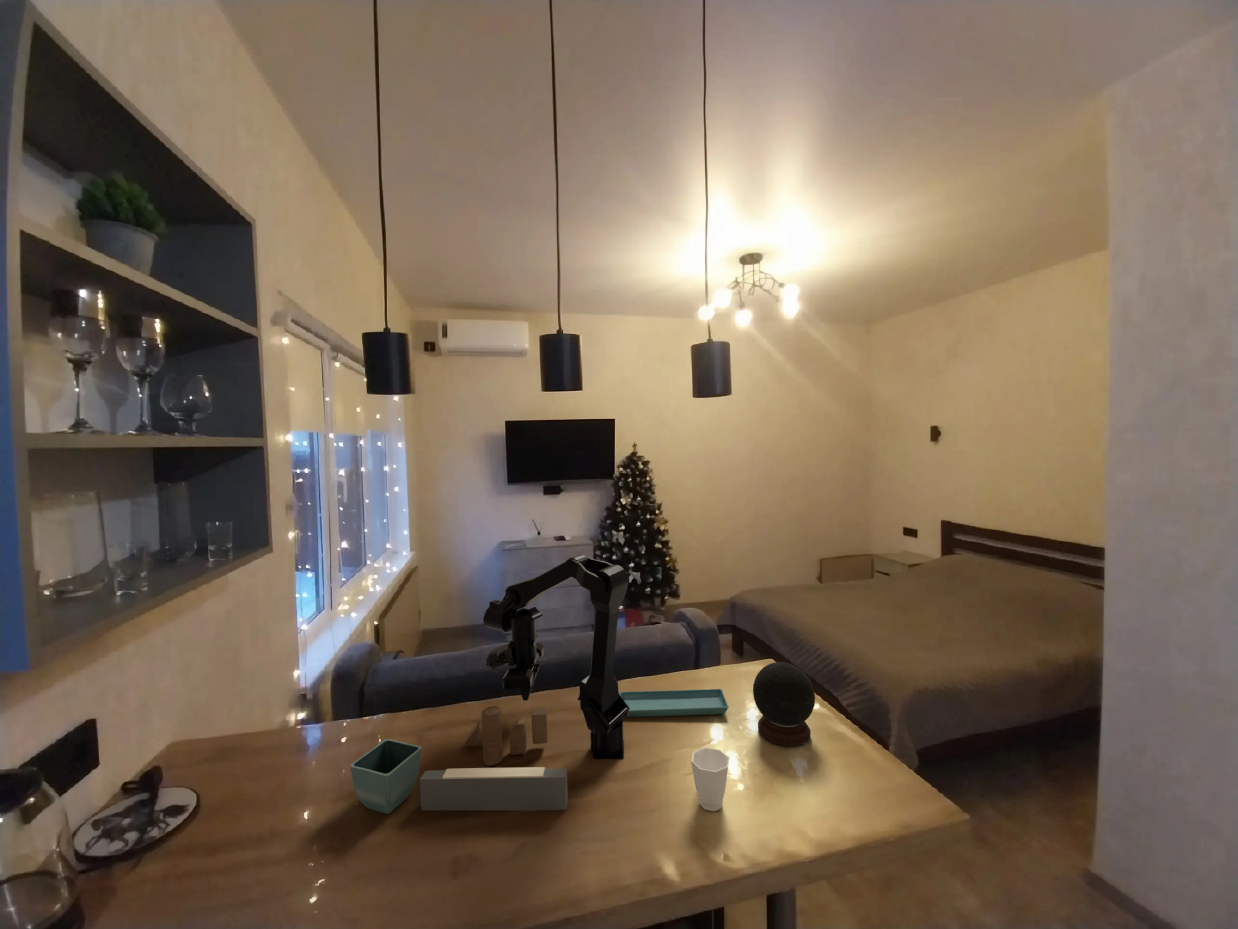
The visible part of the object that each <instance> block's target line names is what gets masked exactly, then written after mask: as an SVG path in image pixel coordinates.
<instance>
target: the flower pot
mask: <svg viewBox="0 0 1238 929" xmlns="http://www.w3.org/2000/svg"><path fill="white" fill-rule="evenodd" d="M422 749H423V748H422V746H420V745H416V744H412V743H407V742H403V741H398V740H394V739H390V738H386V739H384V740H383V741H381V742H380V743H379V744H377V745H375V747H373V748H372V749H370V750H369V751H368V752H367V753H365V754H363V755H362V756H360V757H359V758H358V759H356V760H355V761H354V762H352V763H351V764H350V765H349V768H350V774H351V780H352V786H353V788H354V792H355V794H356V796H357V799H358V800H359V801H360V802H361V803H362V804H363V805H364V807H366V808H367V809H369V810H373V811H375V812H379V813H382V814H386V815H387V814H391V813H392V812H393V811H394V810H395V809H396V808H397V807H399V805H400V804H402V803H403V802H404V801H405V800H406V799H407V798H408V797H409V796H410V794H411V793H412V791H413V789H414V787H415V785H416V783H417V780H418V778H419V773H420V767H421V757H422Z"/></svg>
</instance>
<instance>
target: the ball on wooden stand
mask: <svg viewBox="0 0 1238 929" xmlns="http://www.w3.org/2000/svg"><path fill="white" fill-rule="evenodd" d="M752 686H753V688H752V694H753V700H754V702H755V703H754V704H755V705H756V707H757V709H758V711H759V713H761V715H762V716H761V718H759V720H758V721H757V728H758V733H759V734H760V735H761V736H762V737H763V738H764V739H766V740H768V741H770V742H772V743H775V744H777V745H781V746H789V747H790V746H792V747H794V746H799V745H803V744H805V743H807V742H808V741H809V740H810V738H811V735H812V734H811V731H812V730H811V728H810V726H809V725H808V724H807V722H806V721H807V720H808V719H809V718H810V716H811V714H812V713H813V712H814V708H815V703H816V702H815V701H816V694H815V690H814V685H813V683H812V682H811V680H810V678H809V677H808V675H807V674H806V673H805V672H804V671H803V670H802V669H800V668H799V667H797V666H796V665H794V664H792V663H789V662H784V661H775V662H771V663H769V664H767V665H765V666H764V667H762V668H761V669H760V670H759V671H758V673H757V675H756V676H755V678H754V682H753V685H752Z"/></svg>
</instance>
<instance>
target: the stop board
mask: <svg viewBox="0 0 1238 929" xmlns="http://www.w3.org/2000/svg"><path fill="white" fill-rule="evenodd" d="M419 783H420V784H419V786H420V787H419V789H420V807H421V809H420V810H421V811H566V810H567V807H568V801H569V799H568V797H569V796H568V795H569V794H568V769H567V768H546V767H545V766H539V767H538V766H535V767H533V766H532V767H531V766H529V767H528V766H527V767H525V766H524V767H523V766H522V767H475V768H473V767H469V768H468V767H467V768H466V767H465V768H461V767H460V768H446V769H445V770H444V769H443V770H440V769H439V770H438V769H436V770H434V769H433V770H431V769H430V770H425V771H424V773H423V774H422V775H421V777H420V779H419Z"/></svg>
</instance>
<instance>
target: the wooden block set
mask: <svg viewBox="0 0 1238 929" xmlns="http://www.w3.org/2000/svg"><path fill="white" fill-rule="evenodd" d="M526 723H527V722H526V717H518V718H517V719H516V720H515V721H514V722H513V723H512V725H510V730H509V752H510V753H509V754H510V755H521V754H522V755H525V754H526V750H527V725H526ZM548 724H549V722H548V710H547V708H536V709H532V713H531V731H532V736H531V737H532V744H533V745H542V744H547V743H548V740H549V728H548V727H549V725H548ZM481 728H482V729H481ZM481 728H480V722H477V724H476V725H475V727H474V728H473V729H472V730H471V731H470V733H469V734H468V735H467V737H466V738H465V740H464V742H463V744H462V746H463V747H467V746H477V745H478V743H479V740H480V737H481V735H482V753H483V754H482V757H483V763H484V765H486V766H487V767H488V766H489V767H490V766H496V765H498V764H500V763H501V762H502V760H503V757H504V756H503V752H504V751H503V735H502V734H503V732H502V731H503V730H502V729H503V728H502V709H501V707H499V706H497V705H492V706H488V707H485V708H483V710H482V711H481ZM480 730H481V731H482V734H480V733H481V732H480Z"/></svg>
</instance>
